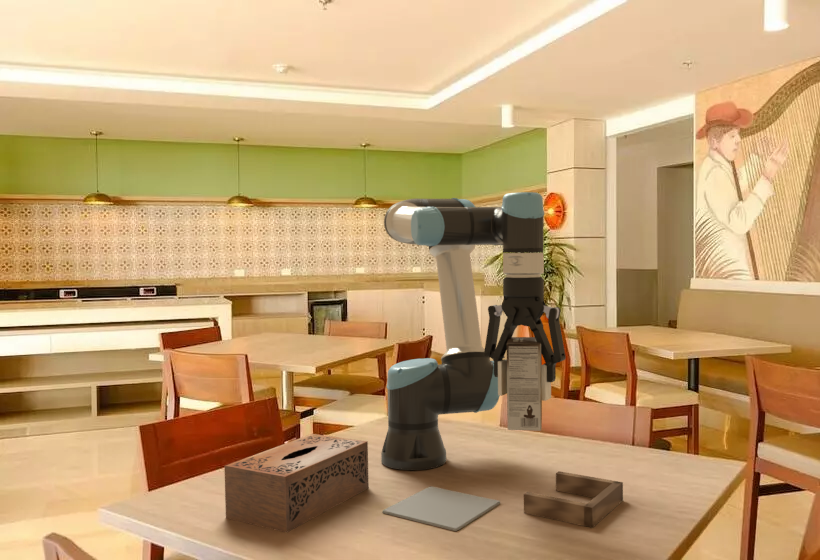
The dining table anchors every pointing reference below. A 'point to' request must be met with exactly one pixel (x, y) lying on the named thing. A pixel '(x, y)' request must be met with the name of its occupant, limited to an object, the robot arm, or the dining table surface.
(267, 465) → the tissue box cover
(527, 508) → the wooden u-shaped frame
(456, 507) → the grey mat
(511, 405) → the coffee box
